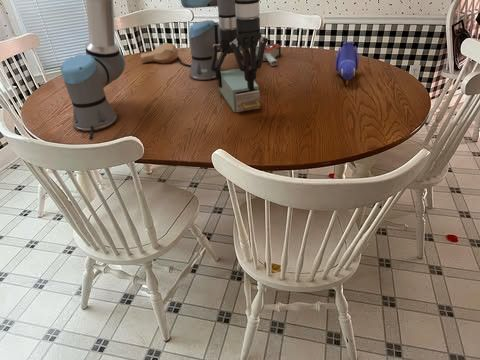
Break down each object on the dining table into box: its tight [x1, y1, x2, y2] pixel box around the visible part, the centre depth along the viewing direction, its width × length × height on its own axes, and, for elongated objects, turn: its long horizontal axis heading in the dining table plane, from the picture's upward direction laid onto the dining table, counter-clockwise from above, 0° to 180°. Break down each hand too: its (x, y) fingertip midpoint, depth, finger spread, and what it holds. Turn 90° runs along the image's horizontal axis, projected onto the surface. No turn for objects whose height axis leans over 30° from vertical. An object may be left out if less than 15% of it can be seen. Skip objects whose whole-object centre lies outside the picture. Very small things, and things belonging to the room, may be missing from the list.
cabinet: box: [219, 68, 260, 113], centre depth 141 cm, size 21×10×9 cm, turn 17°
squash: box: [140, 42, 179, 64], centre depth 186 cm, size 11×20×9 cm, turn 92°
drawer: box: [236, 89, 262, 113], centre depth 137 cm, size 25×9×7 cm, turn 17°
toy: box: [334, 40, 360, 86], centre depth 151 cm, size 10×17×25 cm
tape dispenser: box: [256, 43, 282, 67], centre depth 181 cm, size 18×5×20 cm
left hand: (250, 88), depth 125 cm, fingers closed
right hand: (232, 84), depth 148 cm, fingers closed on cabinet, 10 cm apart
